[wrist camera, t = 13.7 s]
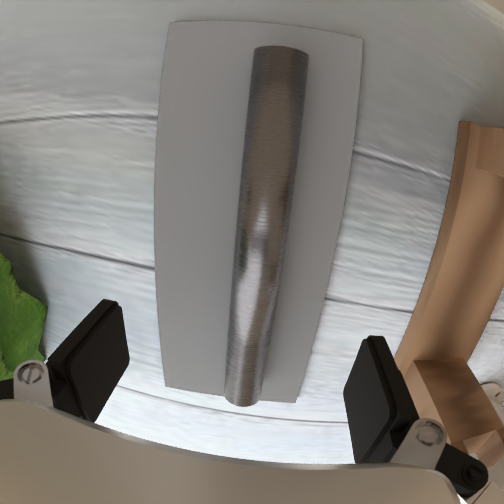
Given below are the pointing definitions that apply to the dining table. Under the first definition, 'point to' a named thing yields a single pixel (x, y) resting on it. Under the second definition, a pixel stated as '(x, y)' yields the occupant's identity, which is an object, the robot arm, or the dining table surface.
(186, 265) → the mat
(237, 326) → the rod
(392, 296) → the dining table surface
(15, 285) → the decorative tree
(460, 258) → the rack
